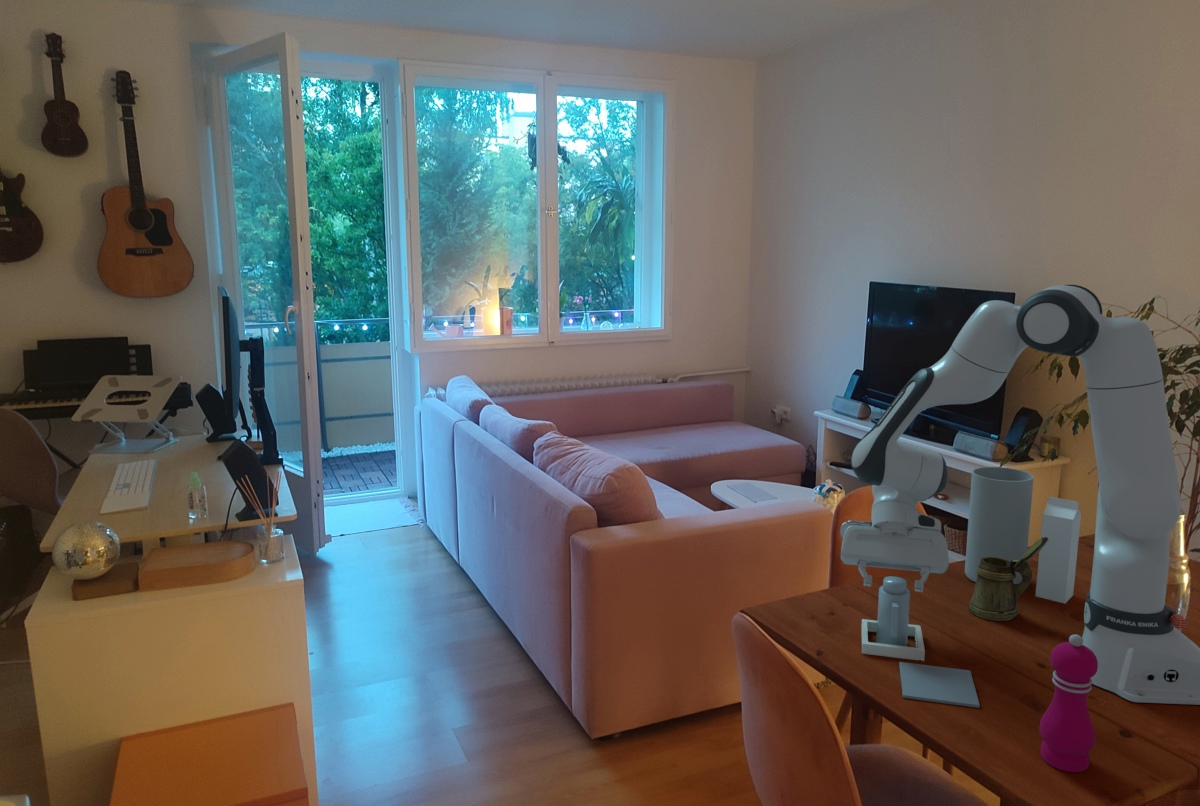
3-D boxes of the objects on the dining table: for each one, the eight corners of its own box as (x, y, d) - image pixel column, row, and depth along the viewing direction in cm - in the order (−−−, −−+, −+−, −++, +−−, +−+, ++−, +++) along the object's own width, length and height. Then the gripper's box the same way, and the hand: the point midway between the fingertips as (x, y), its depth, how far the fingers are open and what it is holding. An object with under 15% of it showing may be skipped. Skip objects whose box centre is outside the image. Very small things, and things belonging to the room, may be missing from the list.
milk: (1043, 588, 185) (1052, 493, 182) (1073, 595, 181) (1082, 498, 177) (1034, 596, 181) (1043, 499, 177) (1065, 604, 177) (1074, 504, 173)
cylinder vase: (984, 564, 200) (992, 464, 195) (1035, 581, 189) (1045, 475, 185) (953, 576, 193) (960, 472, 188) (1004, 594, 183) (1013, 484, 178)
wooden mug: (1039, 630, 165) (1047, 544, 162) (966, 615, 172) (972, 533, 169) (1042, 613, 173) (1049, 530, 170) (971, 600, 180) (977, 520, 176)
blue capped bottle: (906, 639, 162) (909, 576, 160) (908, 658, 154) (912, 593, 152) (875, 635, 164) (879, 573, 161) (877, 655, 156) (880, 590, 154)
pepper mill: (1064, 779, 119) (1077, 649, 116) (1025, 750, 126) (1036, 627, 122) (1104, 769, 121) (1118, 642, 118) (1064, 742, 128) (1076, 621, 124)
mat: (970, 673, 149) (970, 670, 149) (979, 708, 138) (979, 705, 138) (899, 664, 152) (899, 661, 152) (902, 697, 141) (903, 694, 141)
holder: (919, 634, 164) (920, 625, 163) (924, 661, 153) (924, 651, 153) (861, 628, 167) (861, 619, 167) (862, 653, 157) (862, 643, 156)
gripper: (841, 512, 169) (837, 575, 162) (949, 521, 163) (950, 587, 156) (840, 526, 174) (837, 588, 167) (945, 535, 168) (946, 600, 161)
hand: (893, 587), depth 161 cm, fingers open, 8 cm apart
